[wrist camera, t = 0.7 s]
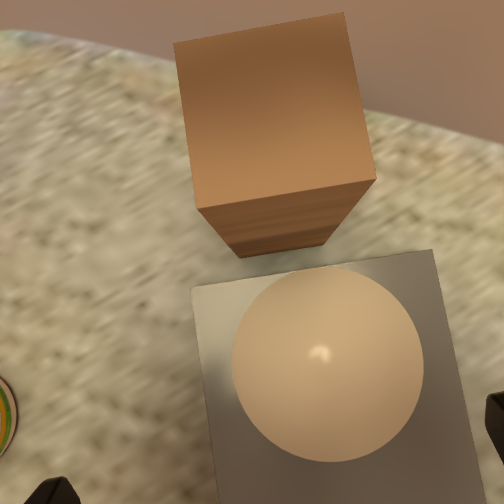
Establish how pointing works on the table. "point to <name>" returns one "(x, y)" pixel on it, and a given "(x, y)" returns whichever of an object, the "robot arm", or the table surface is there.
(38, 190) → the table surface
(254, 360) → the slate board
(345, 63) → the walnut block
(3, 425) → the supplement bottle
